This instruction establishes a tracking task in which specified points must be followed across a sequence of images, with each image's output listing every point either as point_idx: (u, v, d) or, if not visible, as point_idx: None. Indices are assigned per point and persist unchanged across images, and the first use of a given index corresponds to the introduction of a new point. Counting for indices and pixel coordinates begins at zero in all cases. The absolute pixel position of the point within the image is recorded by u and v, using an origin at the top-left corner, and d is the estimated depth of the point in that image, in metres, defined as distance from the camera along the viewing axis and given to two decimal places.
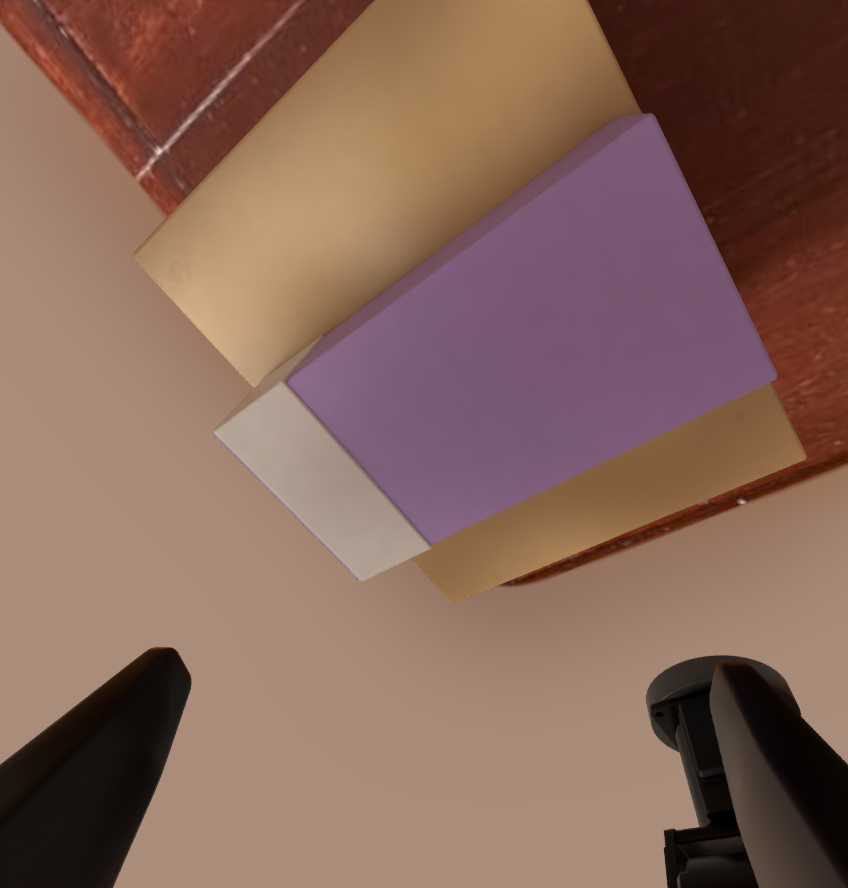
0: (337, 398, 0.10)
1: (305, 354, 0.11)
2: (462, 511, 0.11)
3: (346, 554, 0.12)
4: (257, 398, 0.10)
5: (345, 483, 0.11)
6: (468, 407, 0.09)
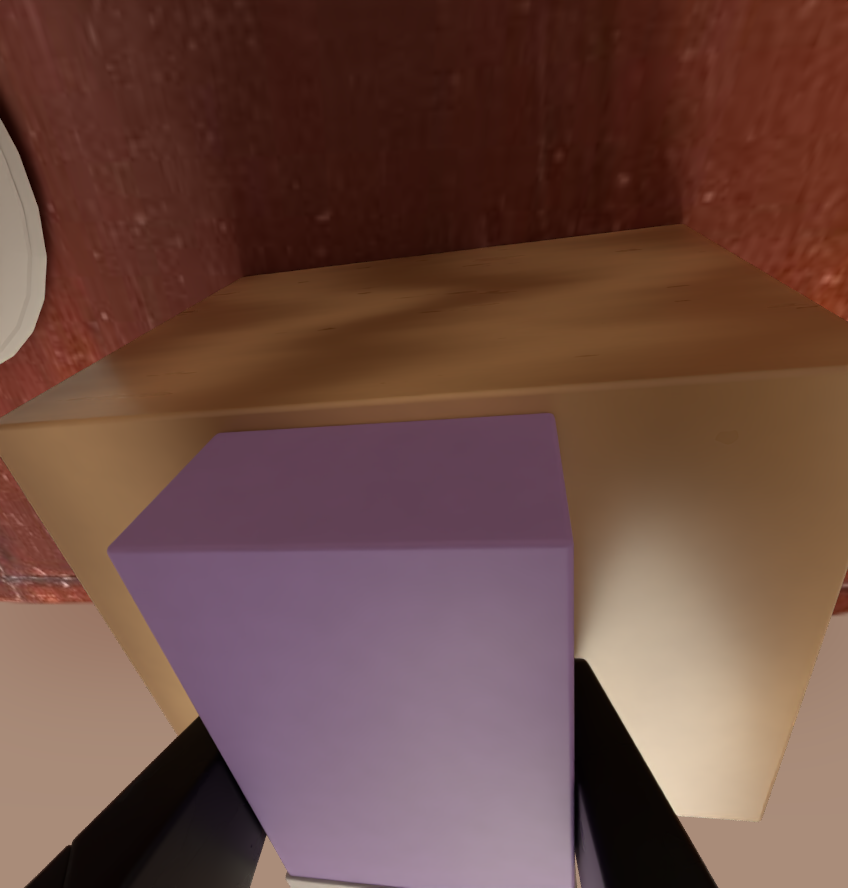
0: (325, 863, 0.08)
1: None
2: (543, 870, 0.07)
3: None
4: None
5: None
6: (395, 805, 0.07)
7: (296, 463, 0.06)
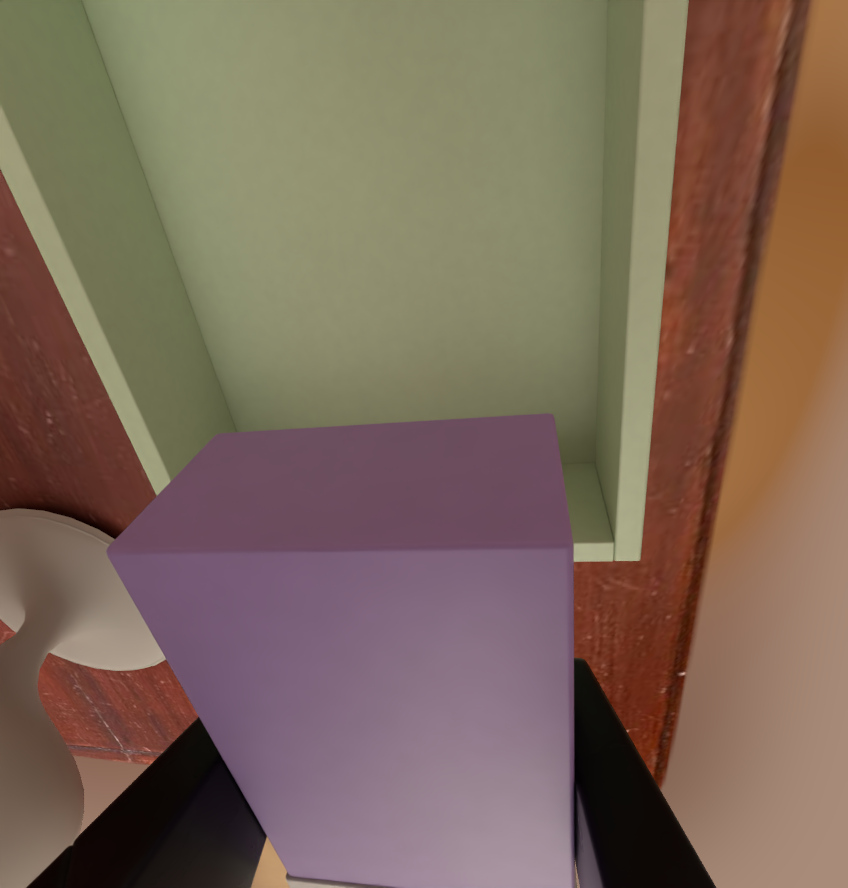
0: (325, 863, 0.08)
1: None
2: (543, 870, 0.07)
3: None
4: None
5: None
6: (395, 805, 0.07)
7: (296, 464, 0.06)
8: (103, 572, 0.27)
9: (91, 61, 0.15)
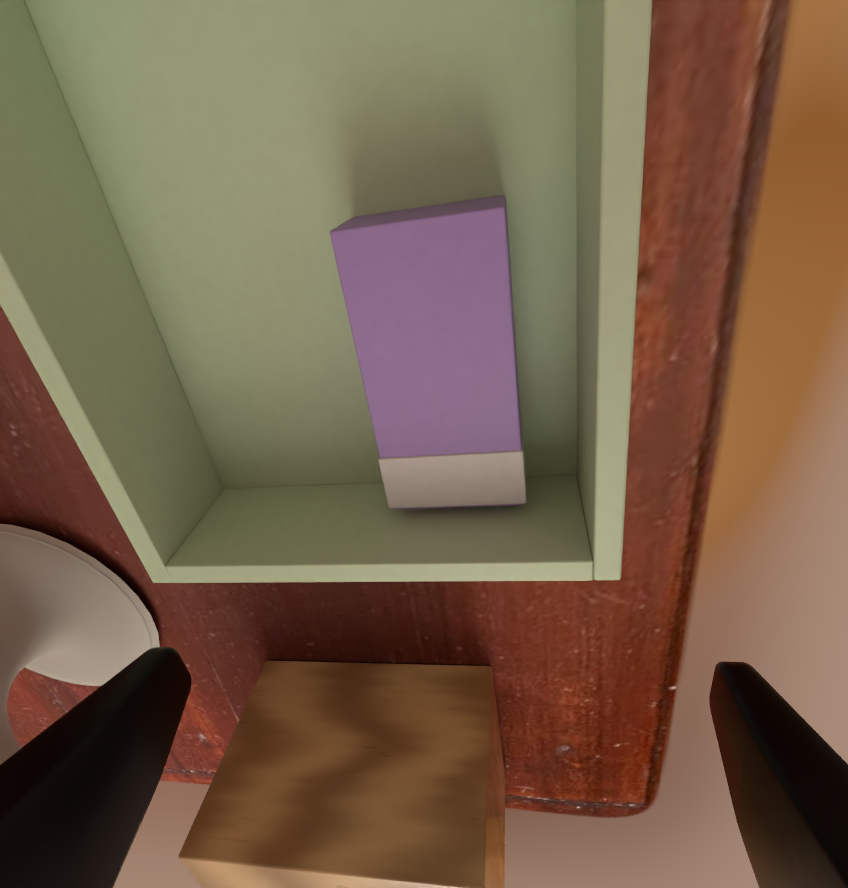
0: (400, 440, 0.17)
1: None
2: (505, 420, 0.16)
3: (500, 498, 0.17)
4: (382, 476, 0.17)
5: (451, 469, 0.17)
6: (437, 381, 0.15)
7: (396, 214, 0.15)
8: (75, 588, 0.26)
9: (33, 58, 0.14)
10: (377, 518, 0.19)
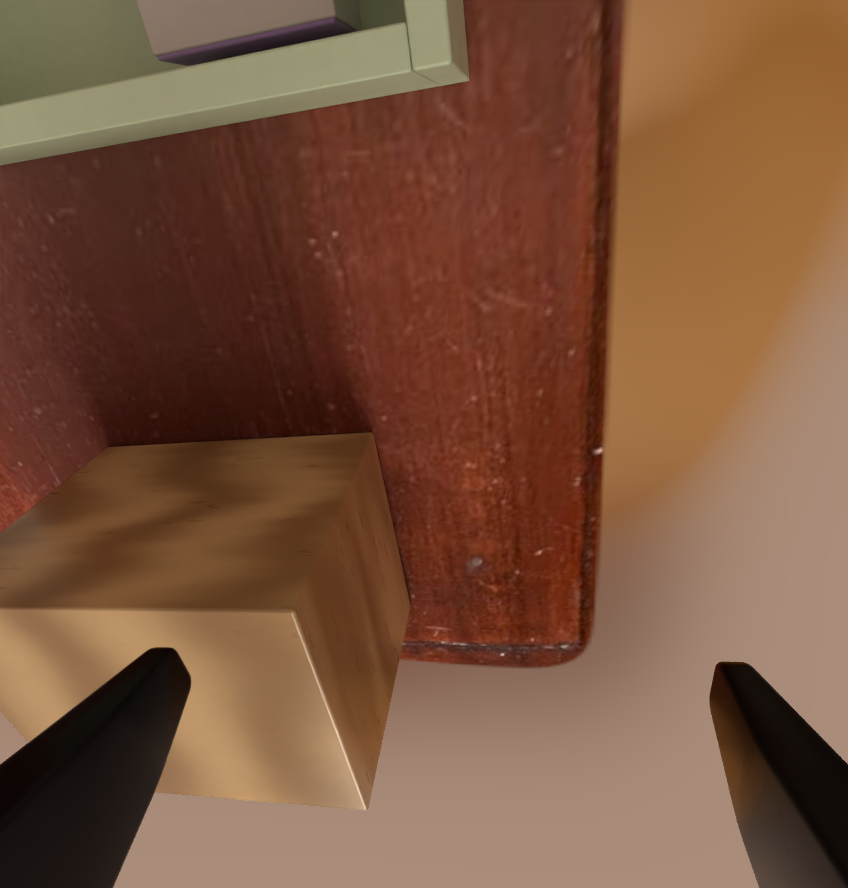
0: None
1: None
2: None
3: (299, 9, 0.12)
4: None
5: None
6: None
7: None
8: None
9: None
10: None
